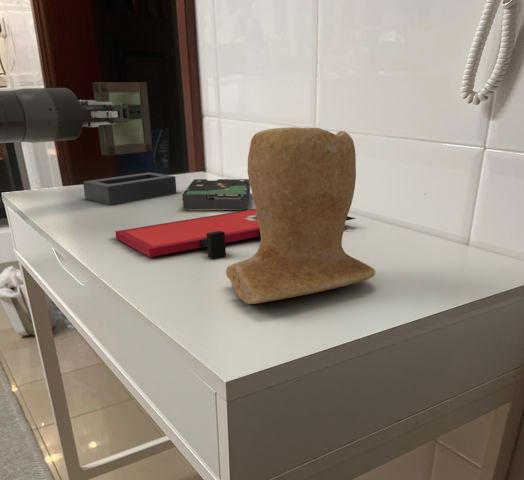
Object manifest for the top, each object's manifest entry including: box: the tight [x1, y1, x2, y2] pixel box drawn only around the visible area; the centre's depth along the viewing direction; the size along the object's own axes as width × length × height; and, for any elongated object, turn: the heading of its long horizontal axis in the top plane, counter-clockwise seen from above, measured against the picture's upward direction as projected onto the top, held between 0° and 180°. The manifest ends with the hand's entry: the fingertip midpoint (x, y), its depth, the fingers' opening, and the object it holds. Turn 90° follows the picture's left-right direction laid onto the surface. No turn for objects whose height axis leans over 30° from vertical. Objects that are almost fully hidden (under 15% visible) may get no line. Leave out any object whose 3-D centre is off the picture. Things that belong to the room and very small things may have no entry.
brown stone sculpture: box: [225, 126, 376, 305], centre depth 53 cm, size 15×12×15 cm
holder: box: [82, 171, 177, 206], centre depth 100 cm, size 8×14×3 cm, turn 137°
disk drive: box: [182, 178, 251, 211], centre depth 94 cm, size 10×3×15 cm
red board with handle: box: [114, 208, 357, 260], centre depth 74 cm, size 30×3×15 cm
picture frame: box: [92, 81, 153, 156], centre depth 94 cm, size 9×2×11 cm, turn 137°
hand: (137, 111), depth 96 cm, fingers closed on picture frame, 2 cm apart
